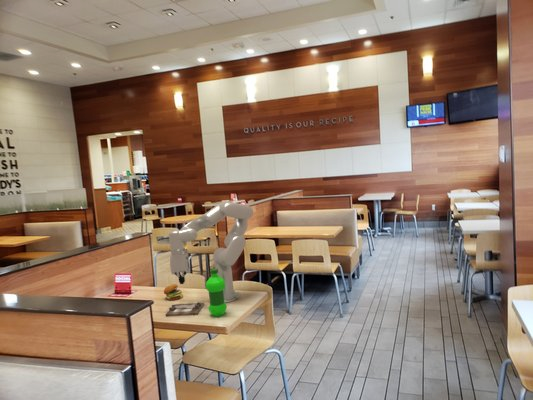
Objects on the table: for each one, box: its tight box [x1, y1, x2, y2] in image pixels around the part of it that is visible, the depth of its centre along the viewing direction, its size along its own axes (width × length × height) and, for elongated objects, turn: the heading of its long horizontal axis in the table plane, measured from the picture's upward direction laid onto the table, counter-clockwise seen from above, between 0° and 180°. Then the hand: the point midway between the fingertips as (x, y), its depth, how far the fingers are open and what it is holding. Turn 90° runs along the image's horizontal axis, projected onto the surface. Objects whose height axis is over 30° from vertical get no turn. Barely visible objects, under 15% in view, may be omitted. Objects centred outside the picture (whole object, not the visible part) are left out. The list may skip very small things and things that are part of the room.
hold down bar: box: [171, 305, 195, 308], centre depth 222 cm, size 15×2×1 cm, turn 85°
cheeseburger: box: [163, 283, 184, 301], centre depth 246 cm, size 10×11×10 cm
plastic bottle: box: [205, 268, 228, 317], centre depth 211 cm, size 10×10×25 cm
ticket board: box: [164, 301, 205, 318], centre depth 222 cm, size 18×16×3 cm
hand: (182, 283), depth 222 cm, fingers closed
